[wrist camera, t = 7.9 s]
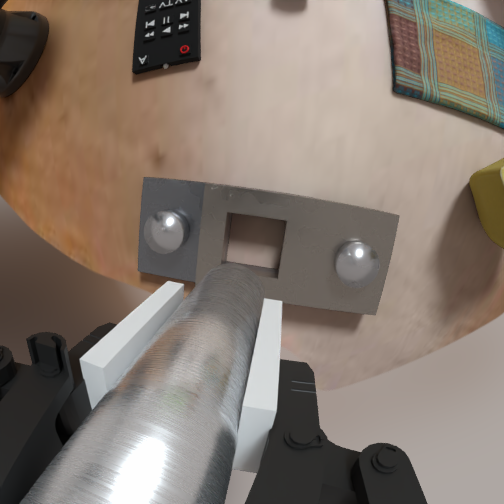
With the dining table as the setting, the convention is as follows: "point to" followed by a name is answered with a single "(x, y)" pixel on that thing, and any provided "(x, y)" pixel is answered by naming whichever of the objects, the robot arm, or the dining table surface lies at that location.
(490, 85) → the dish towel
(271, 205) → the grey block with knob
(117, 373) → the robot arm
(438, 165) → the dining table surface
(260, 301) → the steel pin
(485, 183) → the flower pot
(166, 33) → the remote control
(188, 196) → the lower chain end
